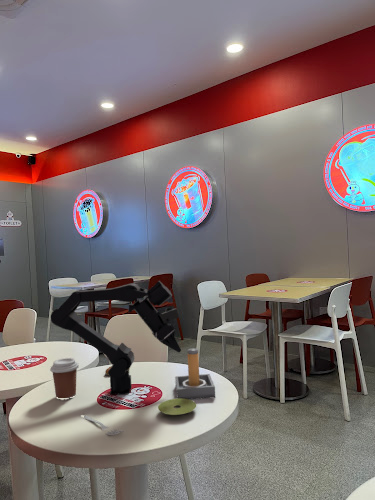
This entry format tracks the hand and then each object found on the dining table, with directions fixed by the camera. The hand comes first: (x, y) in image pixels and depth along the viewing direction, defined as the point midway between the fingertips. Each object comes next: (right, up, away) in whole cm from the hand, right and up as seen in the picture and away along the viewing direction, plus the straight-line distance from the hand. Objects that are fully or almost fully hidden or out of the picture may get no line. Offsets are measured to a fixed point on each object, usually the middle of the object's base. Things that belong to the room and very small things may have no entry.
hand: (178, 350), depth 130 cm
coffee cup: (-38, -15, -2) cm, 41 cm away
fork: (-23, -15, -22) cm, 35 cm away
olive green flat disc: (0, -14, -18) cm, 23 cm away
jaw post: (+6, -12, -3) cm, 14 cm away
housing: (+6, -13, -3) cm, 15 cm away
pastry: (-24, -15, +21) cm, 35 cm away
